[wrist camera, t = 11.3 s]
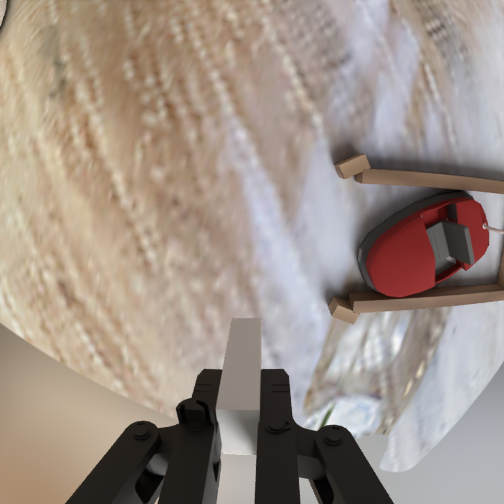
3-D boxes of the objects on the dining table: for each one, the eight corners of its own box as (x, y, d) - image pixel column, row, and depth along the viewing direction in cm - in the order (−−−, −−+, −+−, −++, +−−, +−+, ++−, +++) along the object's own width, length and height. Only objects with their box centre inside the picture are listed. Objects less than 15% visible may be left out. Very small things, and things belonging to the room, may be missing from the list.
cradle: (333, 152, 33) (339, 152, 30) (516, 172, 32) (527, 174, 29) (327, 315, 38) (330, 325, 36) (496, 302, 37) (505, 309, 35)
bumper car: (345, 232, 36) (372, 262, 26) (479, 170, 32) (530, 180, 23) (371, 303, 38) (399, 348, 29) (493, 239, 35) (540, 263, 25)
